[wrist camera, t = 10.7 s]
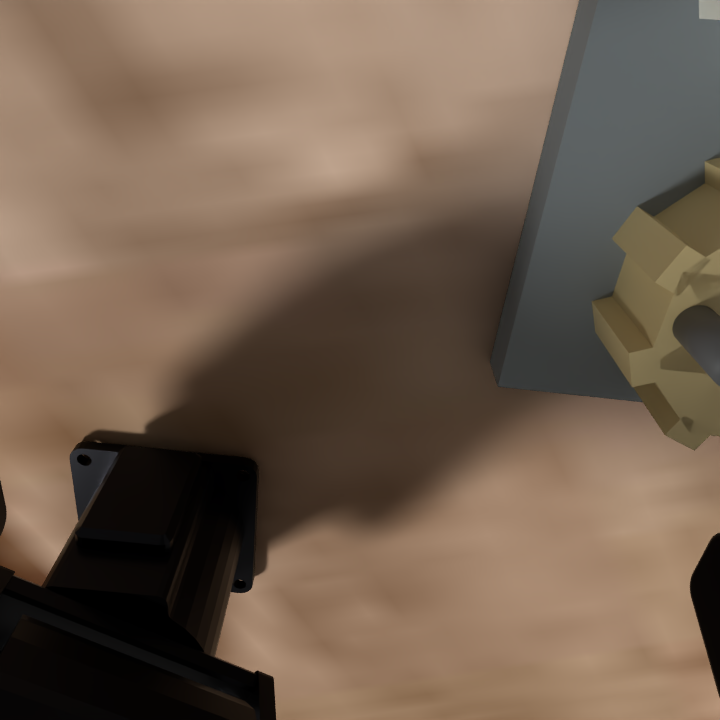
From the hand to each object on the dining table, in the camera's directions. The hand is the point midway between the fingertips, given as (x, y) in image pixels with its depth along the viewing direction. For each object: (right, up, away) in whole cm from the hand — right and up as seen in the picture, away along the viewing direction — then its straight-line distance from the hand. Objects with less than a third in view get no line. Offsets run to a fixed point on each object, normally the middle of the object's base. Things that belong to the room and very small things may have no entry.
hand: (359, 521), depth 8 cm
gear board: (+11, +8, +9) cm, 16 cm away
